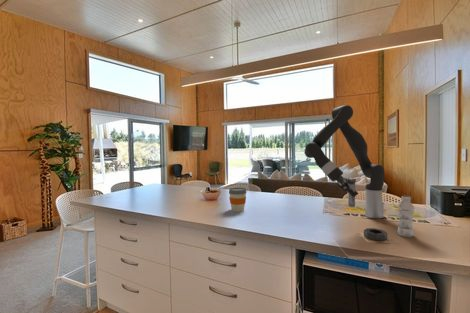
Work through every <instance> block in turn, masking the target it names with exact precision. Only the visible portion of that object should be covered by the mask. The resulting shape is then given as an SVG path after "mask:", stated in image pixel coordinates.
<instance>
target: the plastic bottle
mask: <svg viewBox="0 0 470 313" xmlns="http://www.w3.org/2000/svg"><path fill="white" fill-rule="evenodd" d="M414 206H415V205H413V203H412V197H411V196H409V195H401V201H400V202H399V203H398V206H397V209H398V227H397V231H396V232H397V235H398V236H400V237H404V238H413V237H414V234H415V233H414V227H413V226H414V224H413V218H414V212H415V207H414Z"/></svg>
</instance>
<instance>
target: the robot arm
mask: <svg viewBox="0 0 470 313" xmlns="http://www.w3.org/2000/svg"><path fill="white" fill-rule="evenodd" d="M353 115H354V109H353V107H352V106H350V105H348V104H345V105H340V106H338V107H334V108H333V109H332V110H331V117H332V120H331V121H330V122H329V123H327V124H326V125H325V126H324V127H322V128H321V129H320V130H319V132H318V133H317V134H316V135H315V136H314V138H313V139H312V141H311V142H308V143H307V144H306V146H305V149H304V155H305V156H306V157H307V158H309V159H312V158H313V159H314V161H315V162H314V163H315V164H316V165H317V167H318V168H319V169H320V170H322V171H321V172H323V173H324V175H325V176H327V178H329V180H330V181H331V182H337V184H336V185H337V186H338V187H339V188H341V189H342V190H343V191H345V192H347V193H348V192H349V193H350V195H351V196H352V197H355V198H356V197H357V196H358V195H359V192H358V191H356V189H355V192H354V191H353V190H352V189H351V188H350V187H349V184H348V178H345V177H344V176H343V174H344V171H342V169H340V167H339V166H337V164H336V163H334V162H333V161H332V160H331V159H330V158H329V157H328V156H327V155H326V154H325V152H324V151H323V150H322V148H323V147H324V145H325V144H326V143H327V142H328V141H329V140H330V139H331V138H332V136H333V135H334V134H335V133H336V132H337V131H338V130H340V131H341V133H342V136H344V138H345V140H346V142H347V144H348V146H349V147H350V149H351V151H352V153H353V154H354V156H355V158H356V160H357V162H358V164H359V167H360V169H361V172H362V173H363V175H364V177H365V178H367V179H370V182H369V183H367V184H365V196H364V197H365V201H364V202H365V205H364V206H365V207H364V209H365V211H364V212H365V213H364V214H365V217H367V218H371V219H382V218H383V219H384V217H385V216H384V207H385V206H384V201H383V187H384V185H385V168H384V167H383V165H381V164H377V163H372V162H371V160H370V158H369V154H368V143H367V142H366V140H365V138H364V136H363V134H361V132H359V131H358V130H357V129H355V127H353V126H352V125H351V124H350V123H349V120H350V119H351V118H352V117H353Z"/></svg>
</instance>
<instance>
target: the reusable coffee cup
mask: <svg viewBox="0 0 470 313" xmlns="http://www.w3.org/2000/svg"><path fill="white" fill-rule="evenodd" d="M228 194H229V204H230V207H231V211H232V212H243V211H245V206H246V200H247V188H245V187H231V188H229V189H228Z"/></svg>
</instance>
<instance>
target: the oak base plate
mask: <svg viewBox="0 0 470 313" xmlns="http://www.w3.org/2000/svg"><path fill="white" fill-rule="evenodd" d="M356 234H357V235H359V236H360V237H361V238H362V239H363V240H365V241H366V242H367V243H381V244H385V243H386V244H387V243H389V244H396V242H395V241H394V240H392V239H391V238H390V237H388V236H387V240H386V241H373V240H369V239H367V238H366V237H364V232H357V233H356Z"/></svg>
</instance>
